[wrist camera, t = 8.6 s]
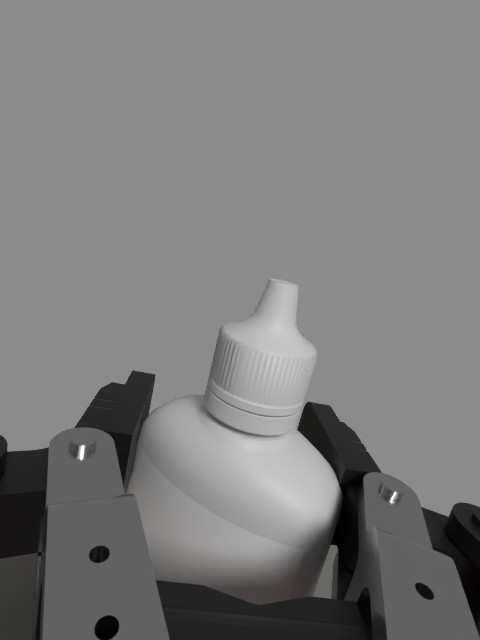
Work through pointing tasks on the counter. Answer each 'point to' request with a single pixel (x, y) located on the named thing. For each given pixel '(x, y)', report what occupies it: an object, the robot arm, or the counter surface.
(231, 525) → the eye dropper bottle
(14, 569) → the counter surface
